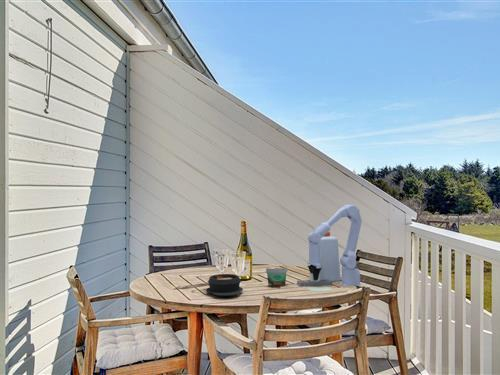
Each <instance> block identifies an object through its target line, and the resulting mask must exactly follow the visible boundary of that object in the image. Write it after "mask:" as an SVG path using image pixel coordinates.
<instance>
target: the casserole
mask: <svg viewBox="0 0 500 375" xmlns="http://www.w3.org/2000/svg"><path fill="white" fill-rule="evenodd" d="M207 283H208V285H209V287H207V288H206V290H205V291H206V292H207V293H209V294H212V295H214V296H218V297H228V296H230V297H231V296H238V295H239V294H240V293H241V292H242V291H244V288H242V286H240V285H241V283H242V280H241V278H240V276H239V275H237V274H233V273H232V274H231V273H220V274H214V275H211V276H209V278H208V280H207Z"/></svg>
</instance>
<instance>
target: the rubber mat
mask: <svg viewBox="0 0 500 375" xmlns="http://www.w3.org/2000/svg"><path fill="white" fill-rule="evenodd" d="M307 289H308V290H310V292H323V291H334V289H333V288H331V287H330V286H308V287H307Z"/></svg>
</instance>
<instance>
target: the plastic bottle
mask: <svg viewBox="0 0 500 375" xmlns="http://www.w3.org/2000/svg"><path fill="white" fill-rule="evenodd" d="M319 248H320V267H321V268H322V269H321V271H320V273H319V280H325V279H329V280H330V281H332V282H339V281H341V280H342V275H341V267H340V266H341V263H340V254H339V242H338V238H337V237H335V236H333V235H331V232H330V231H329V232H328V233H327V234H325V235H324V236H323V237H322V238H321V241H320V242H319Z"/></svg>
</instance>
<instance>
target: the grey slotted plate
mask: <svg viewBox="0 0 500 375" xmlns="http://www.w3.org/2000/svg"><path fill="white" fill-rule="evenodd" d="M296 284H297V286H299V287H301V288H302V287H330V286H333V281H330V280H329V279H325V280H319V282H310V279H301V280H296Z"/></svg>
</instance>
